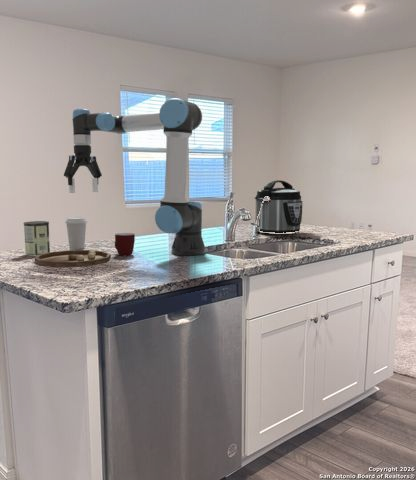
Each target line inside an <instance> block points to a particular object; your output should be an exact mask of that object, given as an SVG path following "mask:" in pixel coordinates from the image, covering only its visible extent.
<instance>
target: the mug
mask: <svg viewBox="0 0 416 480" xmlns="http://www.w3.org/2000/svg"><path fill="white" fill-rule="evenodd" d="M135 236H136V235H135V233H132V232H121V233H115V234H114V238H115V239H114V248H115V250H116V252H117V254H118V255H119V256H120V257H127V256H129V257H130V256H132V254H133V252H134V248H135V247H134V246H135V239H136V237H135Z"/></svg>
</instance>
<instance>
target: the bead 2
mask: <svg viewBox="0 0 416 480" xmlns="http://www.w3.org/2000/svg"><path fill="white" fill-rule="evenodd" d="M88 259H89V260H94V259H95V254H94V253H89V254H88Z"/></svg>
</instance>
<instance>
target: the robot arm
mask: <svg viewBox="0 0 416 480" xmlns="http://www.w3.org/2000/svg"><path fill="white" fill-rule="evenodd" d="M202 120H203V113H202V110H201V108H200V107H199V106H198V104H196V103H194V102H190V101H188V100H185V99H183V98H177V97H175V98H169V99H166V100H165V102H163V103H162V105H161V107H160V109H159V111H155V112H145V113H137V114H135V113H134V114H127V115H126V114H125V115H112V113H111V112H103V111H102V112H97V113H91V112H90V110H89V109H85V108H78V109H77V108H75V109H73V111H72V128H73V144H74V145H73V154H74V155H73V154H71V155H68V162H67V165H66V167H65V170H64V172H63V177H65V179H67V185H68V191H69V194H75V193H76V188H75V187H76V185H75V181H76V180H75V177H74V176H75V175H76V172H77V171H78V170H79V168H80V167H86V168H87V169H88V171H89V172H90V174H91V175H92V178H91V183H92V193H99V190H98V189H99V178H101V177H102V172H101V170H100V167H99V164H98V161H97V156H91V154H92V146H91V144H92V137H91V136H92V135H91V134H92V132H107V133H114V134H118V135H121V134H122V135H123V134H126V133H133V132H144V131H145V132H146V131H157V130H158V131H159V130H163V134H164V135H165V136H166V153H165V154H166V155H165V173H164V174H165V176H164V196H163V197H162V198H161V199H160V200H159V201H160V203H159V204H160V207H158V209H157V210H156V211H155V215H154V221H155V224H156V227H157V228H158V229H159V230H160V231H161V232H162V233H165V234H167V235H168V234H169V235H170V234H175V236H174V240H173V242H172V245H171V254H172V255H178V256H198V255H204V254H206V245H205V243H204V240H203V237H202V230H203V229H202V219H203V218H202V217H203V215H202V214H203V208H202V206H203V205H202V203H201V202H199V201H191V200H188V199H187V198H186V188H187V187H186V184H187V167H188V165H187V163H188V150H189V149H188V148H189V138H190V137H191V136H192V135H193V130H196V129H198V128H199V127H200V125H201V123H202V122H203V121H202Z"/></svg>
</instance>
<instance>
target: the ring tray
mask: <svg viewBox="0 0 416 480" xmlns="http://www.w3.org/2000/svg"><path fill="white" fill-rule="evenodd" d="M89 251H95V253H96V256H95V259H94V260H89V259H88V253H89ZM78 255H83V256H84V261H78V262H77V260H76V257H77V256H78ZM111 258H112V254H111V253H109V252H106V251H103V250H94V249H93V250H92V249H77V250H70V249H69V250H60V251H59V250H58V251H57V250H56V251H50V252H49V253H44V254H40V255H38V256H34V263H36V264H38V265H40V266H45V267H58V268H59V267H62V268H63V267H64V268H65V267H84V266H92V265H93V266H94V265H99V264H100V265H101V264H103V263H107V262H109V261H110V260H111Z"/></svg>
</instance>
